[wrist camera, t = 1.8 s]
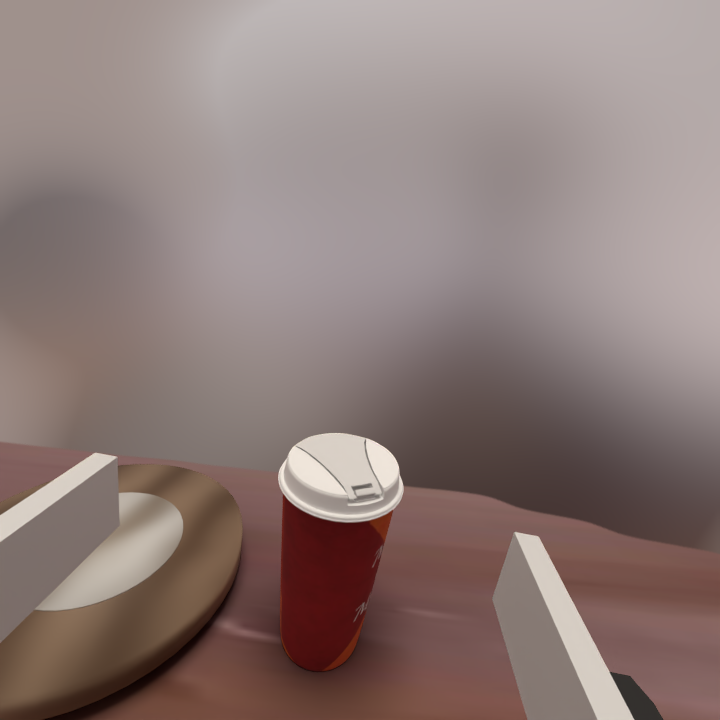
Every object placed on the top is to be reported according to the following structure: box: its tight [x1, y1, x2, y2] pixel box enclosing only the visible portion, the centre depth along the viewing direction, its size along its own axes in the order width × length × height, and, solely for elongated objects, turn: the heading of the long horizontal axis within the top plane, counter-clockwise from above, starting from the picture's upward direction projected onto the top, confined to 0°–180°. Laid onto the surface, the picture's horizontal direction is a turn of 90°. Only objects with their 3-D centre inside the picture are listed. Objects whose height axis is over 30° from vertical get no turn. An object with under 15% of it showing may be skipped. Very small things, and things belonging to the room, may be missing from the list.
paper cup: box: [278, 433, 403, 672], centre depth 25 cm, size 8×8×14 cm
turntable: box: [0, 464, 243, 720], centre depth 28 cm, size 20×20×2 cm
